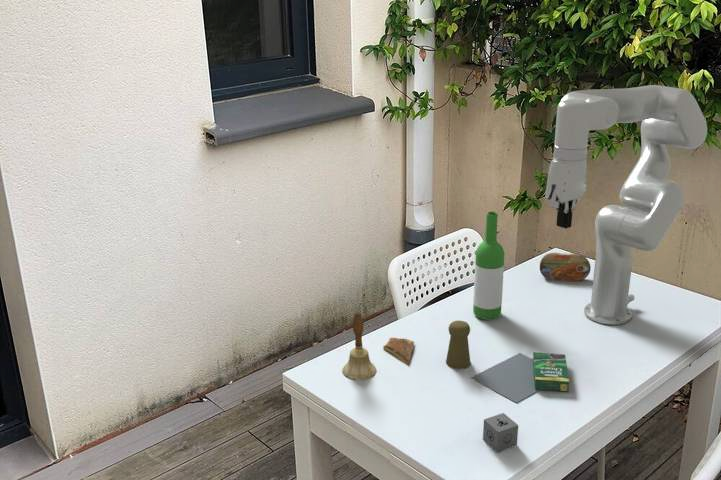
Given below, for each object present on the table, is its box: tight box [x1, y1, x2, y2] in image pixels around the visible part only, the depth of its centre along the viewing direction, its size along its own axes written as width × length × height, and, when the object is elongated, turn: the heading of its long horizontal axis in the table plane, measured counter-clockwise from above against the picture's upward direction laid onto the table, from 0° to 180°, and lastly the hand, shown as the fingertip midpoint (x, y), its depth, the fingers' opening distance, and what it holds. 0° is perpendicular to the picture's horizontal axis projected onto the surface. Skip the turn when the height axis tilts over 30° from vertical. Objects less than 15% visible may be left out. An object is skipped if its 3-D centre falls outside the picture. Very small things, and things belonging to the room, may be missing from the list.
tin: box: [539, 252, 591, 282], centre depth 233 cm, size 15×3×8 cm, turn 81°
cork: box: [445, 320, 471, 370], centre depth 186 cm, size 6×6×11 cm
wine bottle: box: [472, 211, 505, 320], centre depth 207 cm, size 8×8×30 cm
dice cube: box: [482, 412, 519, 453], centre depth 157 cm, size 5×5×5 cm
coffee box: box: [532, 351, 570, 392], centre depth 181 cm, size 8×3×13 cm
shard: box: [382, 337, 415, 365], centre depth 193 cm, size 11×8×2 cm
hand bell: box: [341, 311, 377, 380], centre depth 183 cm, size 8×8×16 cm
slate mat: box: [470, 352, 541, 404], centre depth 182 cm, size 18×14×1 cm
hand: (563, 226), depth 185 cm, fingers closed
